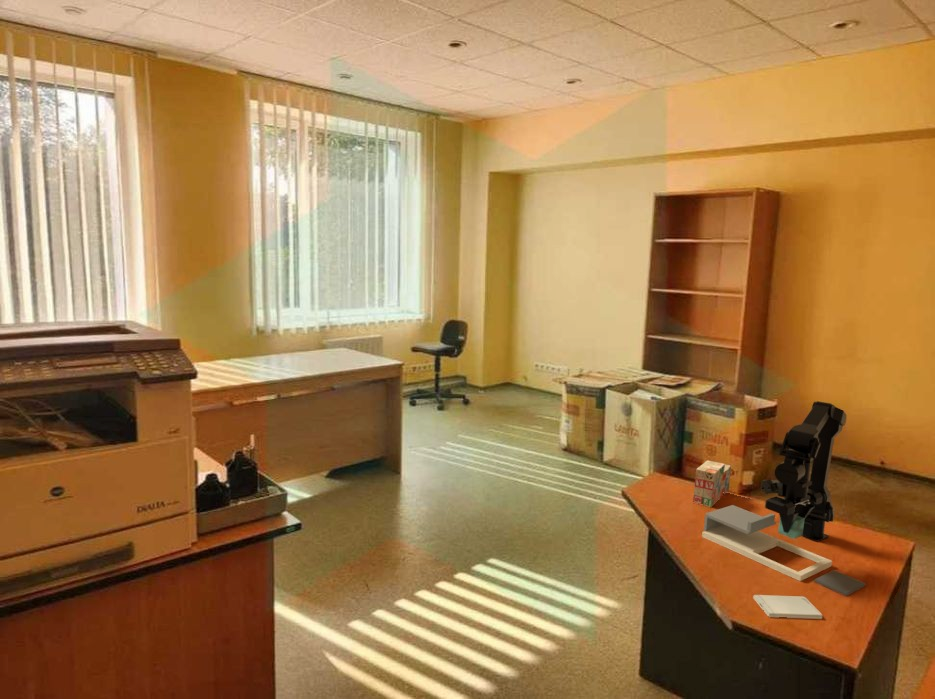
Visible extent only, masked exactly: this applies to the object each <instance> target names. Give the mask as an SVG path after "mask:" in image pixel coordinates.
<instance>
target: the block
mask: <svg viewBox="0 0 935 699" xmlns="http://www.w3.org/2000/svg"><path fill="white" fill-rule="evenodd" d="M804 519H805V518H803V517H800V516H797V517H796V519H795V521H794V523H793V525H792V527H791V529H790V530H789V532H788V533H786V532H784V531H783V527H782V522H781V518H780V517H779V523H778V531H777V533H778V534H779V535H782V536H785V537H787V538H790V539H792V540H795V539H797V538H800V537H802V535H803V527H804Z"/></svg>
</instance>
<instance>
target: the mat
mask: <svg viewBox="0 0 935 699" xmlns="http://www.w3.org/2000/svg"><path fill="white" fill-rule="evenodd" d="M813 582H814V583H816V584H818V585H821V586H822V587H825V588H827V589H829V590H832V591H834V592H836V593H839V594H841V595H842V596H844V597H848V596H849V595H851V594H853V593H855V592H856V591H858V590H860V589H862V588H863V587H865V586H866V584H867V583H866V582H863V581H861V580H858V579H856V578H854V577H851V576H849V575H847V574H845V573H842V572H839V571H837V570H835V569H833V570H831V571H829V572H826V573H824V574H823V575H820V576H819V577H817V578H816V577H815V578H814V580H813Z"/></svg>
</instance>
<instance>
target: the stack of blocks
mask: <svg viewBox="0 0 935 699" xmlns="http://www.w3.org/2000/svg"><path fill="white" fill-rule="evenodd" d="M731 469H732V466H731V465H729V464H726V463H723V462H717V461H712V460H706V461H704V463H702V464H701V465H700V466H698V467H697V468H696V470H695V479H694V490H693V498H692V503H693V502H695V503H698V504H697V505H699V504H703V505H707V506H710V507H709V508H713V507H712V506H713V505H714V504H715V503H716V502H717V501H718V500H719V501H720V499H721V498H722V497H723V496H724V495H725V494H727V492H729V490H730V481H731ZM723 492H724V493H723ZM723 494H724V495H723ZM721 496H722V497H721ZM720 497H721V498H720ZM719 501H718V502H719ZM718 502H717V503H718ZM695 503H694V504H695ZM717 503H716V504H717ZM716 504H715V505H716ZM703 505H702V506H703ZM715 505H714V506H715ZM707 506H706V507H707Z"/></svg>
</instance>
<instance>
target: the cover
mask: <svg viewBox="0 0 935 699" xmlns="http://www.w3.org/2000/svg"><path fill="white" fill-rule="evenodd" d="M775 519H776V514H775V513H772V512H771V513H768V514H766V515H764V516H763V515H759V514H757V513H755V512H752V511H749V510H746V509H744V508H741V507H739V506H736V505H734V504H731V505H728V506H725V507H722V508H718V509H715V510H712V511H709V512H706V513H705V514H704V522H703V531H707V530H710V529H713V528H716V527H719V526H722V525H724V524H725V525H727V526H729V527H732V528H734V529H737V530H739V531H741V532H744V533H746V534H751V533H754V532H756V531H760V530H761V531H762V530H764V529H767V528H770V527H772V526H775V525H776V523H777V521H775Z"/></svg>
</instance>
